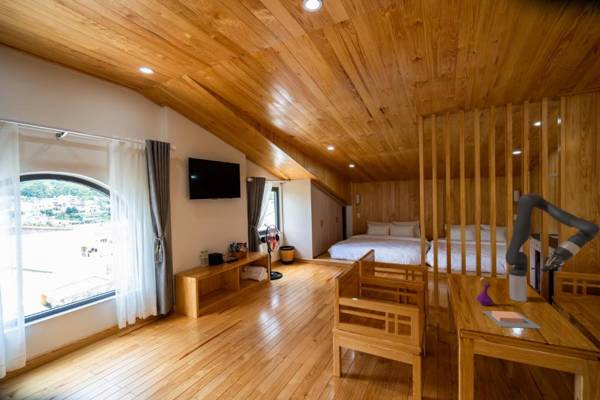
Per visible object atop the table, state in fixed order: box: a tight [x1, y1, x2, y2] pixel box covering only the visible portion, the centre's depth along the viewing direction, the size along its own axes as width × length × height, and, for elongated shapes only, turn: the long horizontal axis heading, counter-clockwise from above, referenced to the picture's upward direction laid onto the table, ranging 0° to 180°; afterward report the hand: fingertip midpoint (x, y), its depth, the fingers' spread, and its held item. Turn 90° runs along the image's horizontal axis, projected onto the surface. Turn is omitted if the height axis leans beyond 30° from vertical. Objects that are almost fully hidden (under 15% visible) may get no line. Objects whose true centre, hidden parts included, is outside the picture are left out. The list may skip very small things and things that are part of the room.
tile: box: [492, 310, 524, 323], centre depth 153 cm, size 9×2×12 cm
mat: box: [482, 310, 543, 330], centre depth 153 cm, size 20×20×1 cm
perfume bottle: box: [476, 276, 494, 307], centre depth 176 cm, size 8×8×18 cm
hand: (542, 271), depth 152 cm, fingers closed
